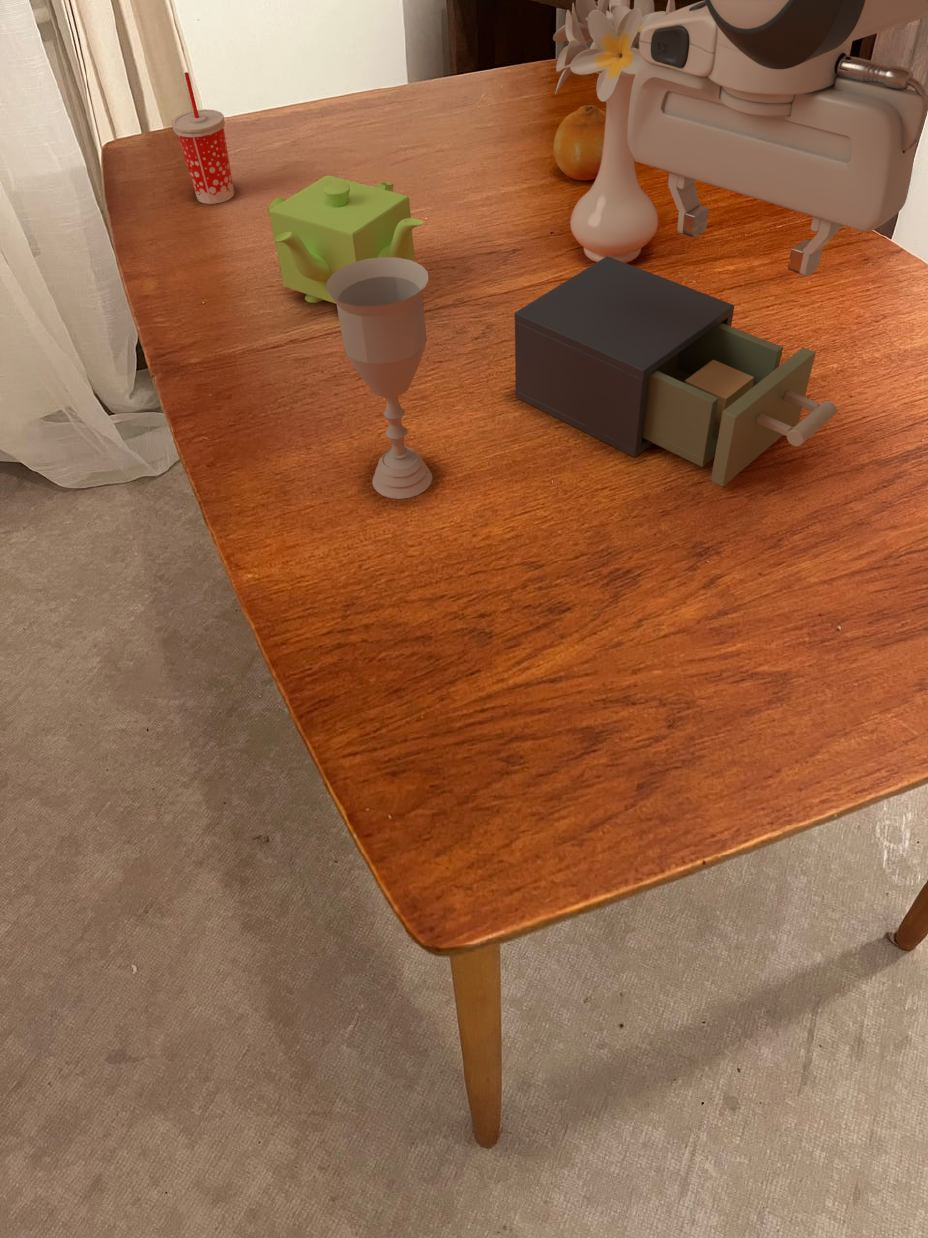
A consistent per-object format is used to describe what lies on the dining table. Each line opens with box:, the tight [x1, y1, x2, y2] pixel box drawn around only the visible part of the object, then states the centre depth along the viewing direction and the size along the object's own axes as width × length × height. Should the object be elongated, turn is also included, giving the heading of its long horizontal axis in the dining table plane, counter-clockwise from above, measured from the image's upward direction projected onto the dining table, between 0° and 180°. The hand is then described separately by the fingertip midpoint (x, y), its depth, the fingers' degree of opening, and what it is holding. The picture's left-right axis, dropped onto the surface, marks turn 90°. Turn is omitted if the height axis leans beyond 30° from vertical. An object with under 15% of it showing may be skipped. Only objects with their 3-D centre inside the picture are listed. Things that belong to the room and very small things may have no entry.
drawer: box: [642, 323, 838, 488], centre depth 81 cm, size 17×11×7 cm
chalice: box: [327, 257, 433, 500], centre depth 76 cm, size 7×7×18 cm
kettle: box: [266, 174, 425, 305], centre depth 100 cm, size 15×14×11 cm
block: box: [685, 360, 754, 439], centre depth 81 cm, size 4×4×4 cm
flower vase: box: [552, 0, 676, 264], centre depth 98 cm, size 13×18×25 cm
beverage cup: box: [171, 71, 235, 205], centre depth 116 cm, size 6×6×14 cm
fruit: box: [552, 104, 606, 181], centre depth 118 cm, size 8×8×8 cm
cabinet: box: [514, 256, 735, 458], centre depth 86 cm, size 14×13×9 cm
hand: (745, 251), depth 72 cm, fingers open, 8 cm apart
